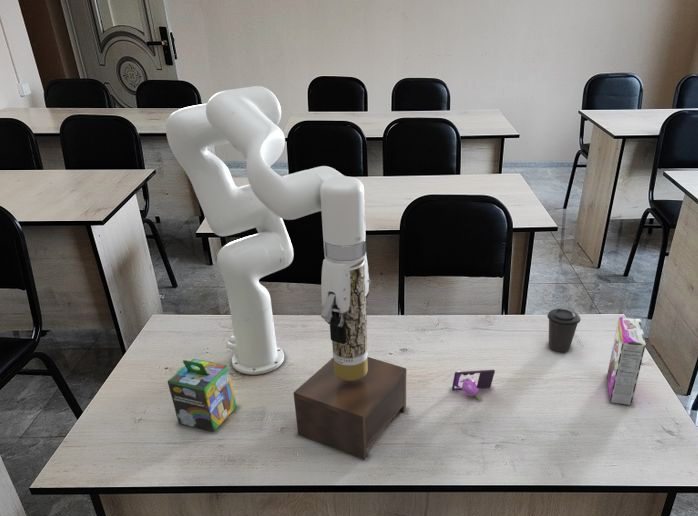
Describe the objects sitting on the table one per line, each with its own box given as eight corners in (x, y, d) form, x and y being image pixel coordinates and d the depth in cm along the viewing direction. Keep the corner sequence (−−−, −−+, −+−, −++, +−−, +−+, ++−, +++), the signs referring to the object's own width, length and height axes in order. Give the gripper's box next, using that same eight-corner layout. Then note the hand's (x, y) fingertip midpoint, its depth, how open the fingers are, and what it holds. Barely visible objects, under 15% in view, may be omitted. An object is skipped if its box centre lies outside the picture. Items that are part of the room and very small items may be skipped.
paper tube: (363, 384, 119) (358, 269, 106) (330, 380, 120) (321, 266, 107) (371, 365, 125) (368, 254, 112) (339, 362, 126) (333, 251, 113)
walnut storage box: (298, 434, 125) (293, 392, 120) (344, 389, 139) (342, 349, 133) (364, 460, 119) (362, 416, 113) (406, 409, 133) (406, 368, 127)
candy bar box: (605, 375, 144) (618, 315, 136) (627, 378, 143) (641, 318, 135) (608, 403, 135) (622, 341, 126) (631, 406, 134) (647, 344, 125)
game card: (493, 366, 135) (454, 369, 134) (498, 386, 132) (458, 388, 131) (489, 383, 140) (451, 386, 140) (493, 402, 137) (454, 405, 136)
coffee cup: (550, 335, 160) (555, 302, 154) (580, 345, 156) (586, 311, 150) (537, 349, 154) (542, 314, 149) (567, 359, 150) (573, 324, 145)
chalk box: (237, 407, 133) (227, 351, 125) (213, 433, 126) (201, 375, 118) (202, 399, 136) (190, 343, 128) (176, 424, 128) (162, 366, 121)
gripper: (352, 228, 116) (355, 309, 126) (299, 261, 103) (307, 349, 112) (386, 235, 113) (387, 317, 123) (336, 270, 100) (341, 359, 109)
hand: (349, 332), depth 117 cm, fingers closed on paper tube, 6 cm apart
